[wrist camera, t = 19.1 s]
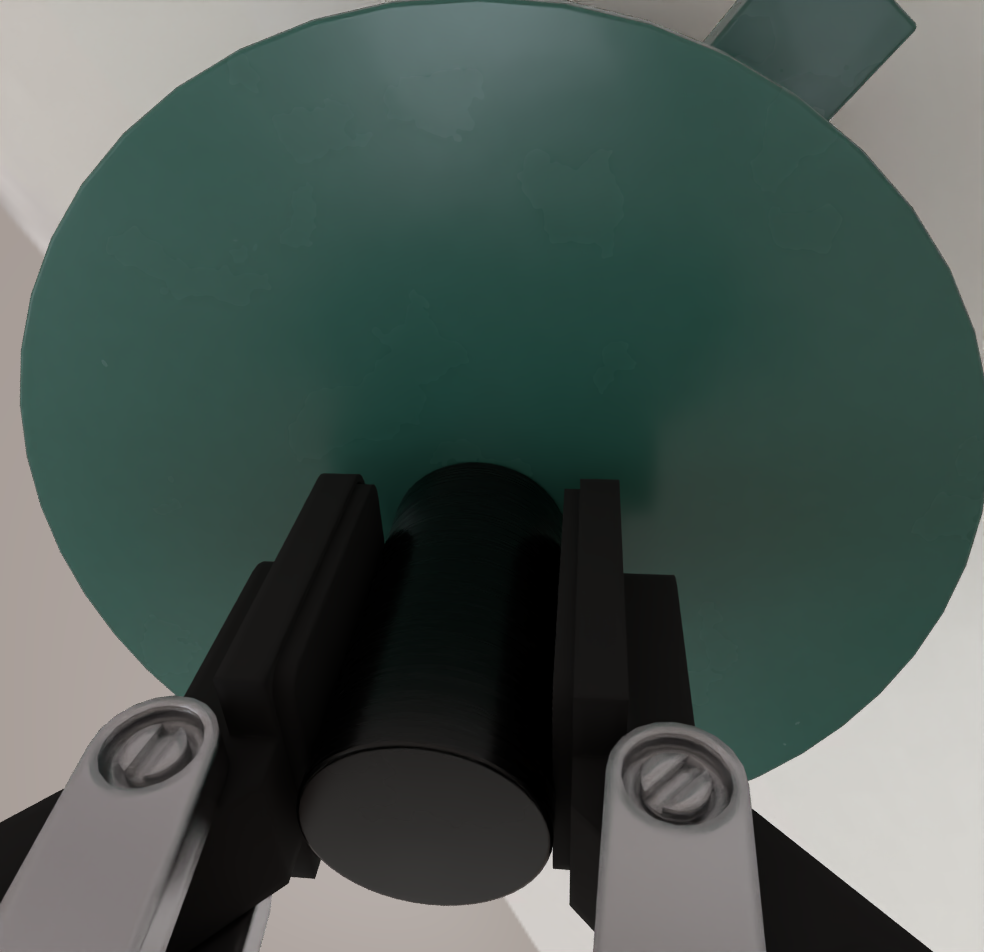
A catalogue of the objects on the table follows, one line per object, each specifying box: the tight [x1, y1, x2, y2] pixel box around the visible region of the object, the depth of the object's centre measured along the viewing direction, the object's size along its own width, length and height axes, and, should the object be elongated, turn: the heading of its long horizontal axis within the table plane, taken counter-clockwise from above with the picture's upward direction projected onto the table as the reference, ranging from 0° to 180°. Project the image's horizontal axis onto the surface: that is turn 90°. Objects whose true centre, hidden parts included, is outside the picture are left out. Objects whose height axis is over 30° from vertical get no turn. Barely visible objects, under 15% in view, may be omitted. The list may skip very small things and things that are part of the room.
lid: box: [20, 0, 984, 906], centre depth 11 cm, size 14×14×6 cm
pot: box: [566, 0, 916, 121], centre depth 20 cm, size 12×18×9 cm
